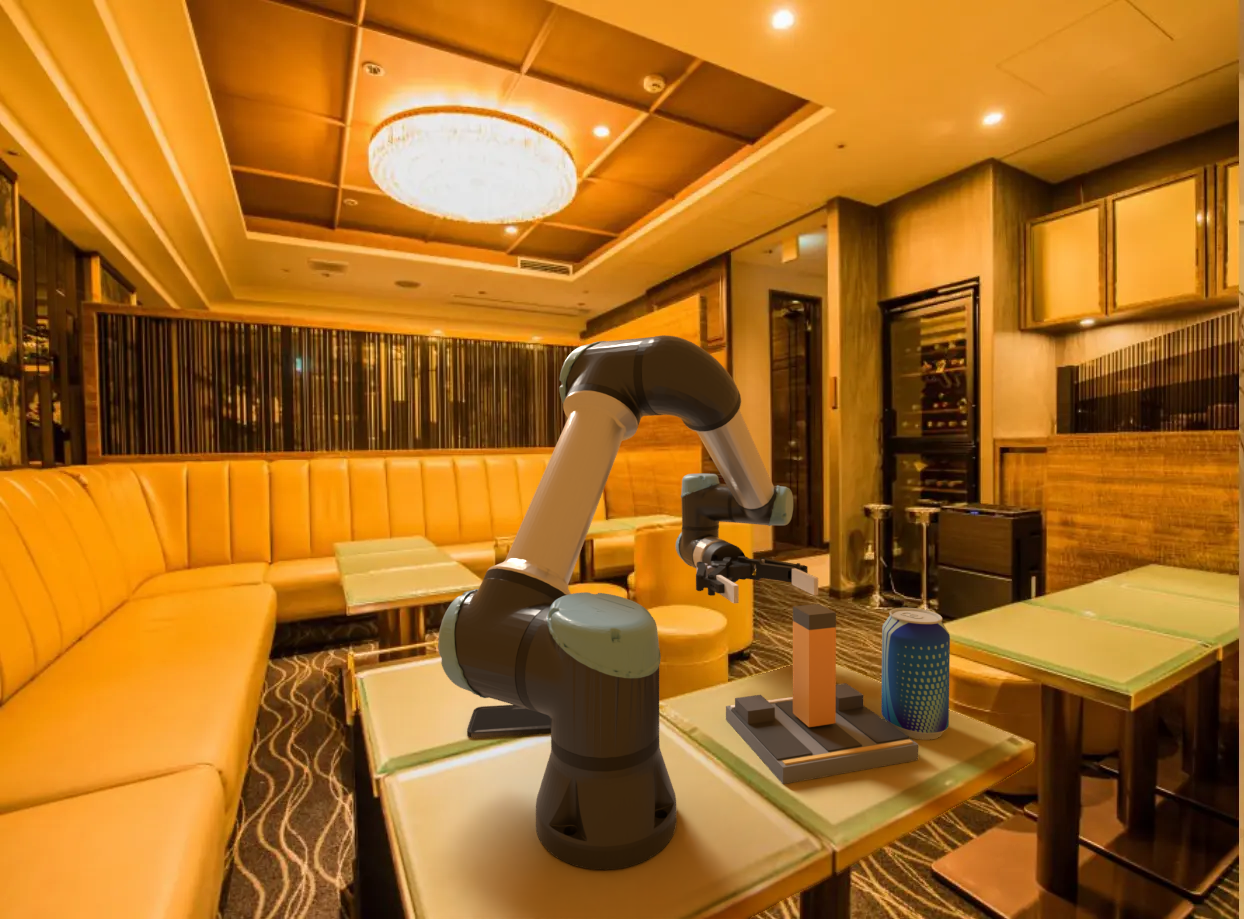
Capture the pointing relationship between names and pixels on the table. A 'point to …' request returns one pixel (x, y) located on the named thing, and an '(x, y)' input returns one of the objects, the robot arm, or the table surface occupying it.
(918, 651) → the beer can
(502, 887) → the table surface
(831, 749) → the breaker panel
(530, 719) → the phone
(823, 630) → the orange lever
